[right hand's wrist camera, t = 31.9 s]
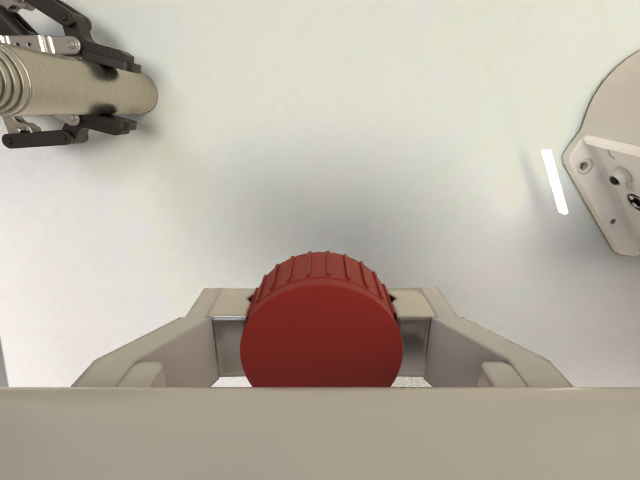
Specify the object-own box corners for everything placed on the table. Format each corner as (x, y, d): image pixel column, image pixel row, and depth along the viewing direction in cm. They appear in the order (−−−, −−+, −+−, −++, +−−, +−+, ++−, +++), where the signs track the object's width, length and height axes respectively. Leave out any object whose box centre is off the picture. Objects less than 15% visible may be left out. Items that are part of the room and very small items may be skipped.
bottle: (165, 90, 35) (-34, 65, 15) (144, 122, 36) (-66, 136, 17) (130, 61, 34) (-129, -5, 15) (110, 94, 35) (-156, 75, 16)
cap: (244, 251, 9) (226, 284, 8) (393, 246, 9) (410, 279, 7) (258, 370, 11) (246, 422, 9) (388, 366, 11) (402, 418, 9)
